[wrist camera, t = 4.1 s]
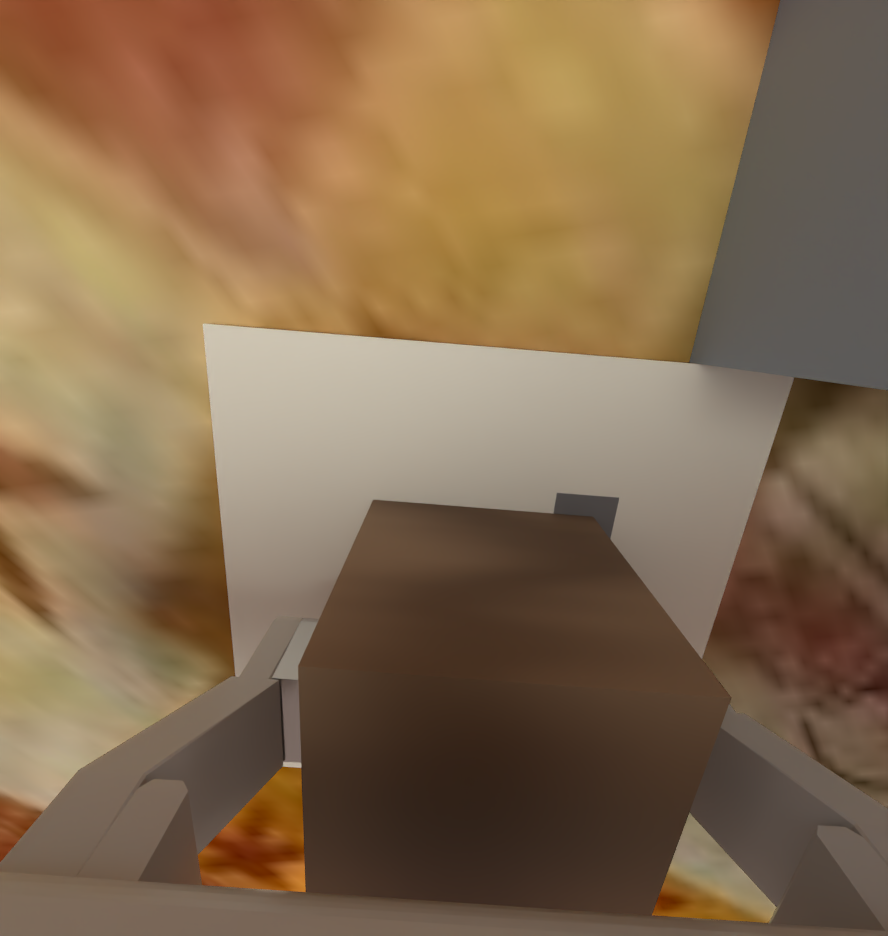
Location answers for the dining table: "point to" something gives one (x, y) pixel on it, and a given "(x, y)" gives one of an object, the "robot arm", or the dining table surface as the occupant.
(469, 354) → the letter sheet
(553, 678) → the walnut block
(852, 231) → the slate cube
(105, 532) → the dining table surface
